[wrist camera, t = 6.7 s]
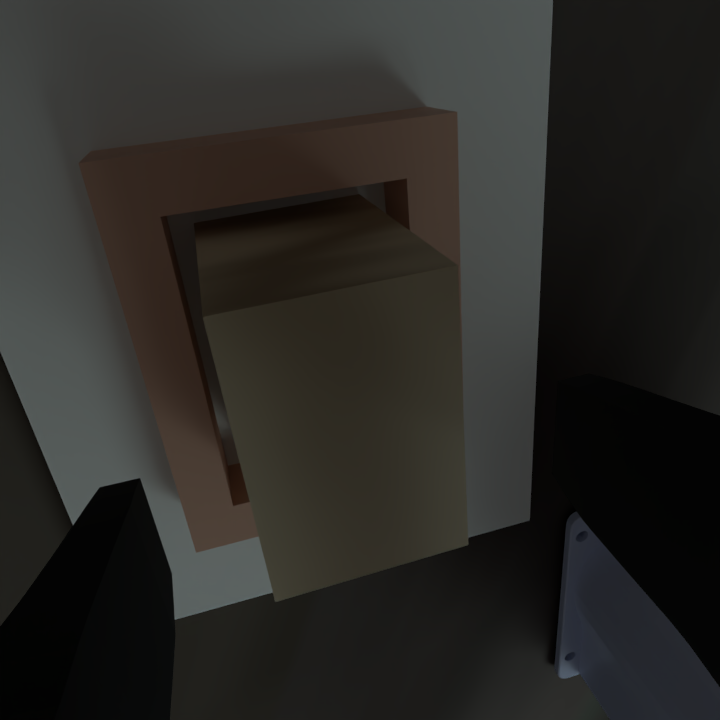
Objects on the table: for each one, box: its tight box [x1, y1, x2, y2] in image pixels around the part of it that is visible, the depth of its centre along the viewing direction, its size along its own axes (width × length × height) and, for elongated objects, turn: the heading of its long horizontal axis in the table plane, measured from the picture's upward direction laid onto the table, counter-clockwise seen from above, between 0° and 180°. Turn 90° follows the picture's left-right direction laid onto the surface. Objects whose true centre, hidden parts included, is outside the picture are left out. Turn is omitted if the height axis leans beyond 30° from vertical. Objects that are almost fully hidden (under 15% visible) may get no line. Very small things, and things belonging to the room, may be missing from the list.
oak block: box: [194, 194, 468, 602], centre depth 13 cm, size 4×6×6 cm, turn 7°
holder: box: [0, 0, 553, 619], centre depth 15 cm, size 18×14×3 cm
